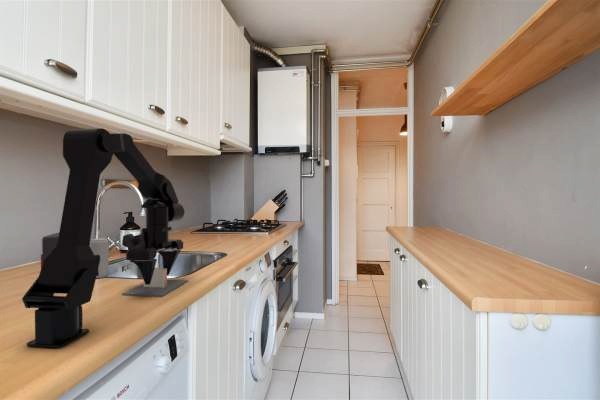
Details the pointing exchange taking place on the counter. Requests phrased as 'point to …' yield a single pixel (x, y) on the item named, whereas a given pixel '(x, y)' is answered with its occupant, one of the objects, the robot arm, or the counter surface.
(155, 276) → the tile
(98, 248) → the beverage can
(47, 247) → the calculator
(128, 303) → the counter surface
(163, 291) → the mat
